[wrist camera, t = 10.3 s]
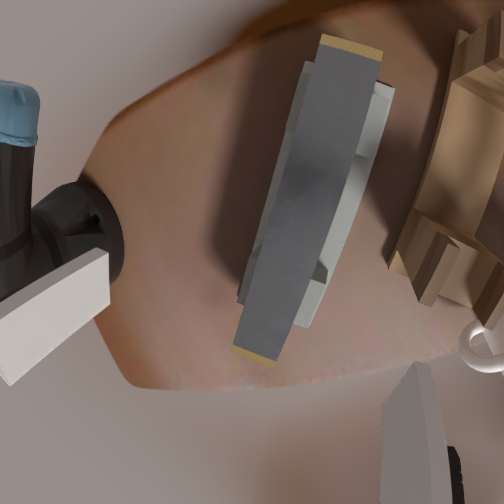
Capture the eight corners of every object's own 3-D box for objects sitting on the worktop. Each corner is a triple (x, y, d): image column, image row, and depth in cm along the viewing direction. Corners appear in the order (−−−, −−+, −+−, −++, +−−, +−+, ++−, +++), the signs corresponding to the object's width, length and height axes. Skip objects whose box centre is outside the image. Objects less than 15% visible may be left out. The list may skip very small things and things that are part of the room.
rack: (386, 264, 26) (403, 328, 17) (456, 32, 16) (500, -11, 6) (443, 287, 25) (477, 353, 15) (513, 67, 15) (572, 46, 5)
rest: (239, 298, 32) (228, 314, 29) (305, 61, 22) (300, 50, 19) (309, 324, 31) (304, 344, 28) (394, 89, 20) (401, 82, 17)
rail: (283, 341, 28) (273, 367, 25) (245, 326, 29) (230, 350, 25) (377, 66, 17) (383, 51, 14) (326, 51, 18) (322, 33, 15)
